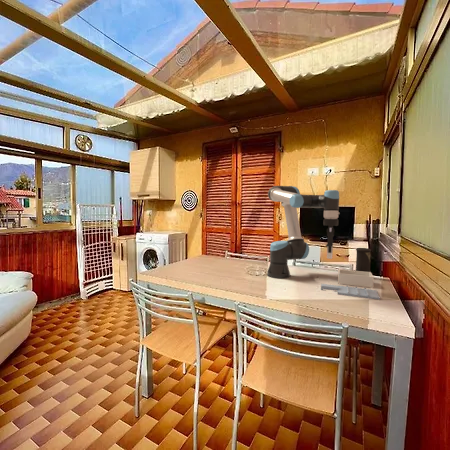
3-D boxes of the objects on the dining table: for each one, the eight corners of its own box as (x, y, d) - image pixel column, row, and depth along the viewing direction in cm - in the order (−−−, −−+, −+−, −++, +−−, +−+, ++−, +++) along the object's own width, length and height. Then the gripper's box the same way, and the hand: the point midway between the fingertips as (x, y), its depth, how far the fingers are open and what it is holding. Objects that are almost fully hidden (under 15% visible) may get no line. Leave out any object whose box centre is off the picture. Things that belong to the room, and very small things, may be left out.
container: (372, 279, 159) (373, 249, 158) (357, 279, 161) (358, 248, 160) (367, 276, 168) (368, 247, 167) (353, 275, 170) (354, 246, 168)
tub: (338, 285, 148) (338, 273, 147) (337, 280, 159) (338, 269, 158) (373, 289, 140) (373, 276, 140) (370, 283, 151) (370, 272, 151)
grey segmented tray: (320, 292, 134) (320, 287, 134) (321, 285, 146) (321, 281, 146) (379, 300, 123) (380, 295, 123) (375, 292, 135) (375, 287, 135)
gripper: (338, 219, 124) (337, 261, 125) (338, 218, 146) (336, 253, 148) (322, 218, 127) (321, 259, 128) (324, 217, 149) (323, 252, 151)
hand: (329, 256), depth 138 cm, fingers open, 13 cm apart
